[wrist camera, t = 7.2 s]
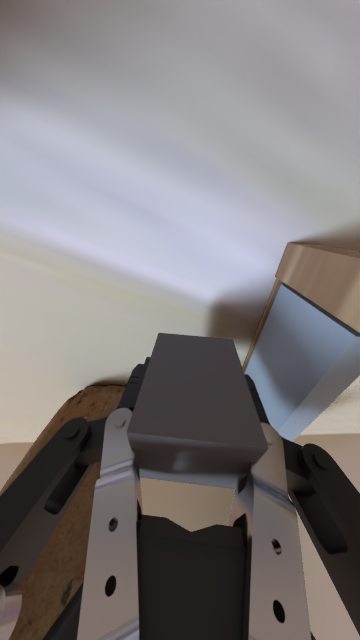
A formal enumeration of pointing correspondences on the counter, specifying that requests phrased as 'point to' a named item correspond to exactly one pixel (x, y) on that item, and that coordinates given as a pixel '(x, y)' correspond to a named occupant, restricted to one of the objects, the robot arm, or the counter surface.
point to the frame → (318, 283)
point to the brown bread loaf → (62, 525)
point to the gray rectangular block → (195, 414)
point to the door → (301, 361)
